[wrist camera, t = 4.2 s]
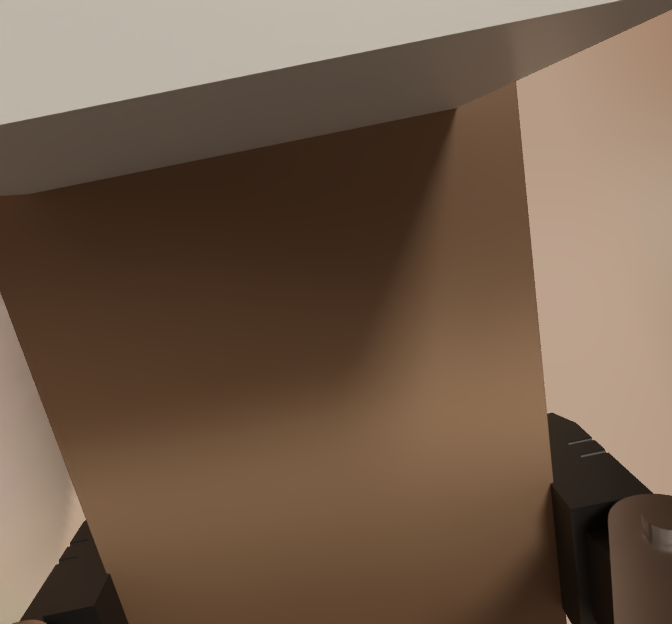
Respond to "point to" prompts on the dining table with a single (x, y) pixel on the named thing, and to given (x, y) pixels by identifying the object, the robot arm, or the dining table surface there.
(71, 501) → the dining table surface
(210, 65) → the block
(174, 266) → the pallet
